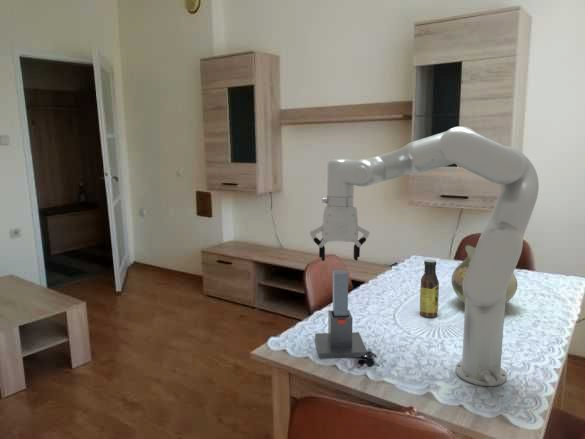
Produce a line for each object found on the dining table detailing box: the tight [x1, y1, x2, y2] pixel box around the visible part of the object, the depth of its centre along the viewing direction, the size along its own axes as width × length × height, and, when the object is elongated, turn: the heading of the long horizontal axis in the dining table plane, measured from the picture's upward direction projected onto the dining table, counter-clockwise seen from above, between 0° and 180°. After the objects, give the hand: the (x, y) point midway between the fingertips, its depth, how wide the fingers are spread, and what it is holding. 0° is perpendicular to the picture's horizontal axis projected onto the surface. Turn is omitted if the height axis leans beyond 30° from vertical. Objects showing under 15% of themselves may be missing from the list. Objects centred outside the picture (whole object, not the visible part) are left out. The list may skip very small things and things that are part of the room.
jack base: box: [314, 309, 368, 359], centre depth 141 cm, size 14×14×10 cm
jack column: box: [332, 269, 349, 317], centre depth 140 cm, size 4×4×22 cm
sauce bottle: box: [419, 259, 440, 318], centre depth 165 cm, size 7×6×20 cm
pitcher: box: [451, 243, 518, 307], centre depth 172 cm, size 22×24×25 cm
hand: (339, 259), depth 138 cm, fingers open, 9 cm apart
